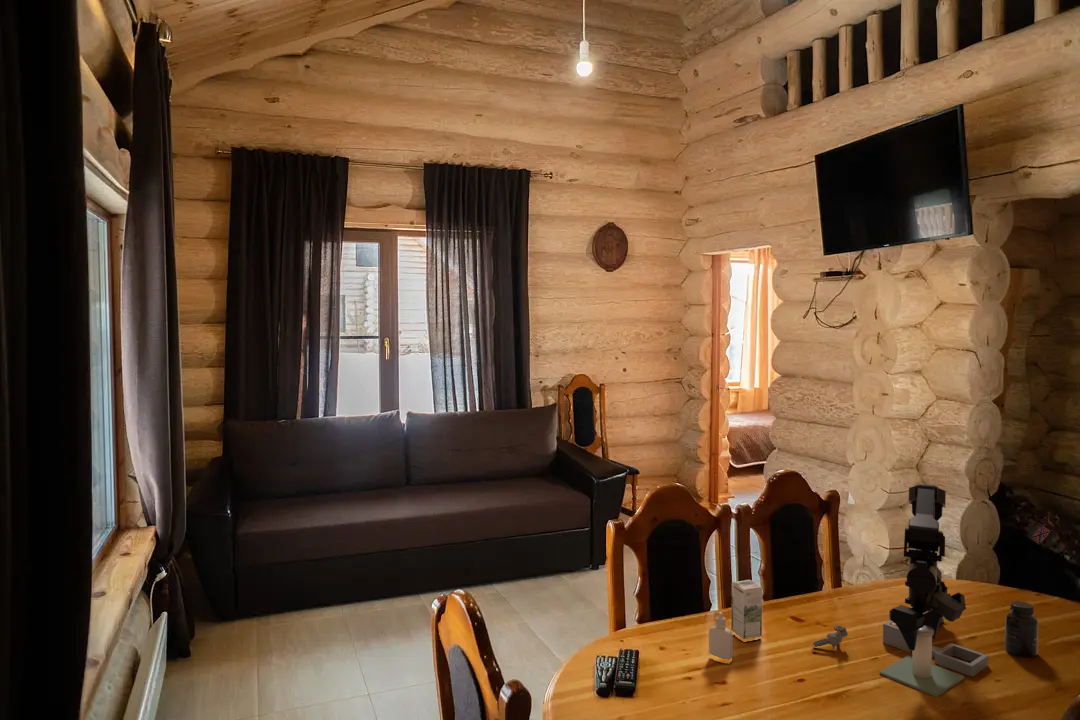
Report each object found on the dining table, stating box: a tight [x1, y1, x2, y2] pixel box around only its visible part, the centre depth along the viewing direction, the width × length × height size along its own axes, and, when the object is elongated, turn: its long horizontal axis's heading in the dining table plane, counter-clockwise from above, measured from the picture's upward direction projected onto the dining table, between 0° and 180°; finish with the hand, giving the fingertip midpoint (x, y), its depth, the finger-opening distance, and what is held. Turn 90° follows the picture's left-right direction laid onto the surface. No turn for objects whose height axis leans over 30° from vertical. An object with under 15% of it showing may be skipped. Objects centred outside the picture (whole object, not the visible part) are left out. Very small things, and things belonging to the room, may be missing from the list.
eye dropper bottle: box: [708, 611, 734, 660], centre depth 179 cm, size 4×6×12 cm
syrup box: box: [730, 579, 763, 639], centre depth 191 cm, size 6×6×14 cm
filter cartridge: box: [911, 624, 934, 678], centre depth 169 cm, size 5×5×11 cm
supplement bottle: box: [1004, 600, 1039, 658], centre depth 180 cm, size 7×7×12 cm
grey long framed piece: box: [882, 619, 989, 677], centre depth 180 cm, size 22×8×5 cm, turn 36°
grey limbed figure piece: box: [811, 623, 849, 650], centre depth 184 cm, size 10×6×9 cm
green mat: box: [879, 655, 965, 698], centre depth 170 cm, size 13×13×1 cm
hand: (921, 644), depth 169 cm, fingers open, 9 cm apart
